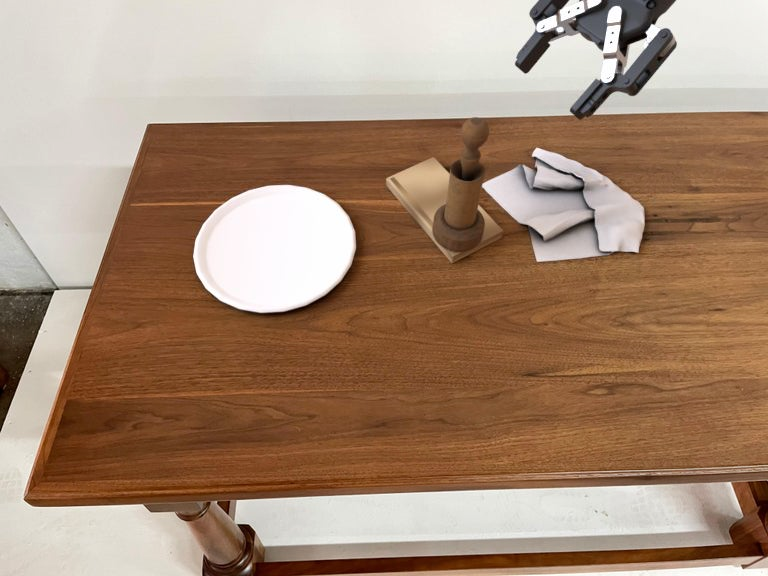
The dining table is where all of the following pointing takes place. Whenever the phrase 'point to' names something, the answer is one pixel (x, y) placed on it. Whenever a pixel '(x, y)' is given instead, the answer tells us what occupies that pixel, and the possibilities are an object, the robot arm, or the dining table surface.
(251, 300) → the plate
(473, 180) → the mortar and pestle
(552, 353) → the dining table surface
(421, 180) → the cutting board
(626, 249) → the cloth
